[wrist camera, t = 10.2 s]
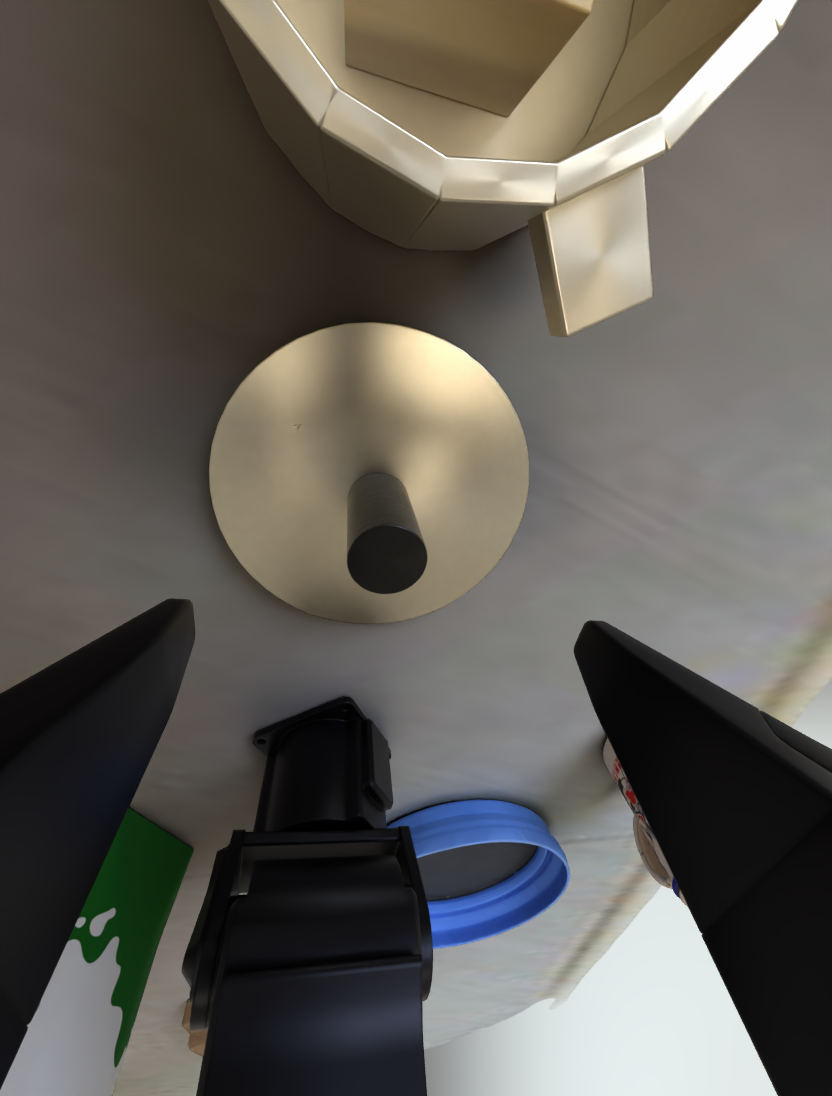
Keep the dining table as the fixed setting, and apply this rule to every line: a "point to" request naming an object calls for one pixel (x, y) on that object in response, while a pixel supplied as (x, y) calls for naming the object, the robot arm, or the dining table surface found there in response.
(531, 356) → the dining table surface
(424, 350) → the lid
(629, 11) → the pot
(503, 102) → the cube
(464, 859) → the bowl
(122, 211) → the dining table surface
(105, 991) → the milk carton
